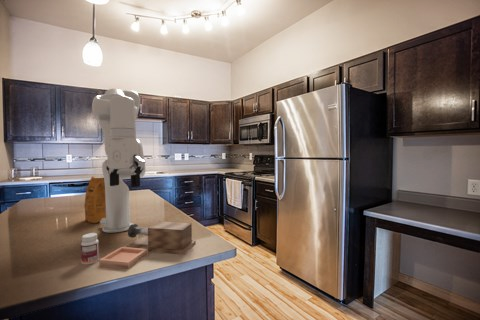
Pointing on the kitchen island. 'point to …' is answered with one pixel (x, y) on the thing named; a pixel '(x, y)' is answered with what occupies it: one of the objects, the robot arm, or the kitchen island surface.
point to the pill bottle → (89, 248)
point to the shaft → (137, 231)
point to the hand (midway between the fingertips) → (124, 186)
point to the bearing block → (167, 238)
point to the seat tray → (123, 257)
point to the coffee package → (95, 200)
